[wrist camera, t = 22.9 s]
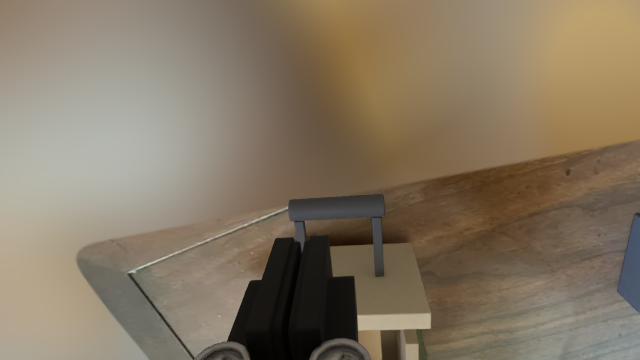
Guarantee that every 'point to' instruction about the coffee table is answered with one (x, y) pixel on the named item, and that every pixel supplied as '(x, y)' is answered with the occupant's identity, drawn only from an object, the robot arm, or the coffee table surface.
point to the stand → (632, 268)
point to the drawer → (374, 273)
